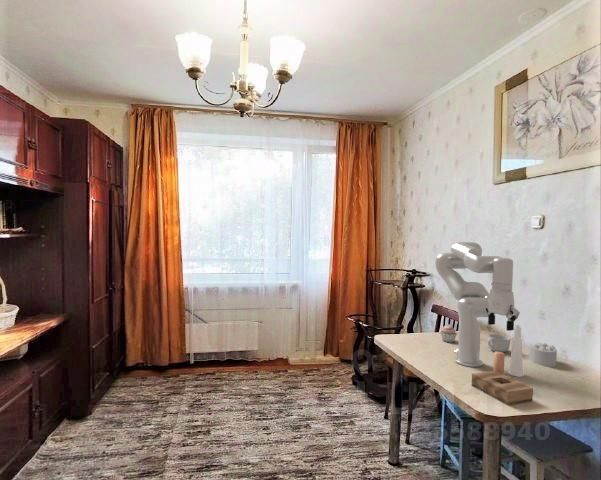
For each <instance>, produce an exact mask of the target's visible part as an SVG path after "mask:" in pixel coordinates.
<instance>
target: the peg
mask: <svg viewBox="0 0 601 480" xmlns="http://www.w3.org/2000/svg"><path fill="white" fill-rule="evenodd" d="M493 352H494V353H493V370H492V371H496V372H499V373H501V374H503V375H505V356H506V355H505V352H503V353H502V352H495V351H493Z"/></svg>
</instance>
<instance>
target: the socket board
mask: <svg viewBox="0 0 601 480" xmlns="http://www.w3.org/2000/svg"><path fill="white" fill-rule="evenodd" d="M470 385H471V387H474V388H475V389H477V390H479V391H480V390H481V391H480V392H482V391H483V393H484V394H486V395H488V396H490V397H492V398H494V399H495V400H497V401H499V402H500V403H503V404H505V405H506V406H511V405H516V404H523V403H530V402H533V399H534V397H533V396H534V387H532V386H530V385H527V384H525V383H523V382H520V381H518V380H516V379H514V378H513V377H509V376H507V375H505V374H504V375H503V374H501V373H499V372H496V371H493V370H492V371H491V370H490V371H484V372H483V371H482V372H481V371H480V372H475V373H471V384H470Z"/></svg>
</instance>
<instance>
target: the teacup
mask: <svg viewBox="0 0 601 480" xmlns="http://www.w3.org/2000/svg"><path fill="white" fill-rule="evenodd" d="M511 340H512V339H511V338H510V337H509V336H507V335H505V334H499V333H488V334H487V346H488V348H489V349H490V350H492V351H493V352H502V353H506V352H507V351H509V349H510V345H511Z"/></svg>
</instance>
